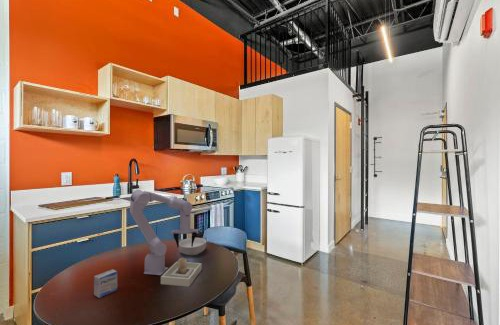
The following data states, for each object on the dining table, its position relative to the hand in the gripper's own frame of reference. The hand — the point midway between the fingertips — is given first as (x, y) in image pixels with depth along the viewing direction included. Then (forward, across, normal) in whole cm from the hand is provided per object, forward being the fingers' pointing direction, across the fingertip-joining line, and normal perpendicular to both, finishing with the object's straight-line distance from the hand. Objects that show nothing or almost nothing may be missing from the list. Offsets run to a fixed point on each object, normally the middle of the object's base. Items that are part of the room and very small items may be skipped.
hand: (185, 246), depth 137 cm
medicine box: (+10, -32, -24) cm, 42 cm away
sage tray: (+9, 0, -16) cm, 18 cm away
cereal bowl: (+10, +4, +14) cm, 17 cm away
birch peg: (+9, 0, -16) cm, 18 cm away
